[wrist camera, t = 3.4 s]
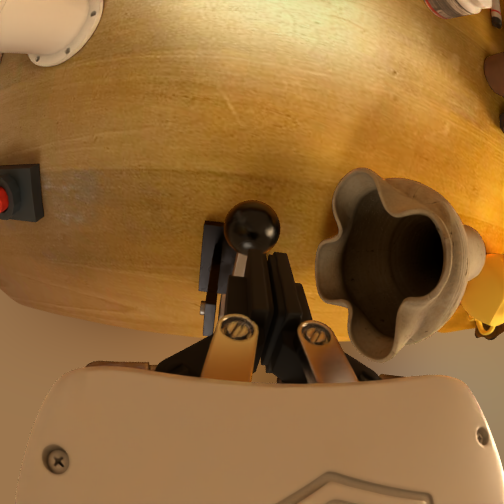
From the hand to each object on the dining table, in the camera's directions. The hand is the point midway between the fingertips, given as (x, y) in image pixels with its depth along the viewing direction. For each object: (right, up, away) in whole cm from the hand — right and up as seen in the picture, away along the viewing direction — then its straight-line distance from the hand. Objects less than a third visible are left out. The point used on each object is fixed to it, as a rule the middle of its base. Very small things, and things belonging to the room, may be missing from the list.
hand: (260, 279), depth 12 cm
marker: (+41, +45, -1) cm, 61 cm away
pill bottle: (+25, +36, +4) cm, 44 cm away
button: (-36, +9, +13) cm, 39 cm away
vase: (+21, +3, +23) cm, 31 cm away
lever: (-1, 0, +10) cm, 10 cm away
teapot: (+45, -2, +27) cm, 52 cm away
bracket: (-3, 0, +23) cm, 24 cm away
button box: (-36, +11, +16) cm, 41 cm away
